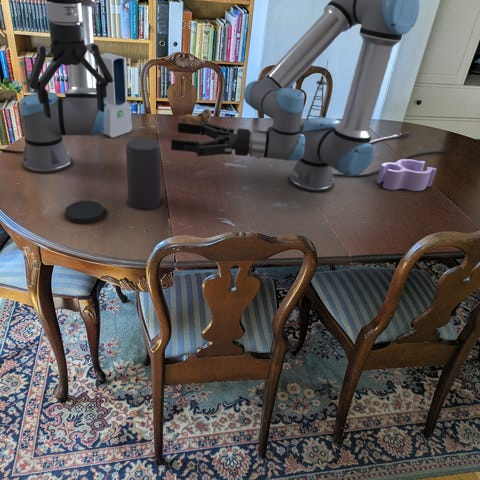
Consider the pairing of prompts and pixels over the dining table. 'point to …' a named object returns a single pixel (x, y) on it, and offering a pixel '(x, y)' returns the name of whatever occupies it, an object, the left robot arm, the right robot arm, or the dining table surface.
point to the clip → (406, 175)
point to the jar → (143, 173)
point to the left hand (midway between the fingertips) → (75, 113)
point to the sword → (387, 138)
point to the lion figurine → (198, 118)
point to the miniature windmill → (317, 69)
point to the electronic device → (116, 97)
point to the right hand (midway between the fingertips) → (174, 135)
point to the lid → (84, 212)
